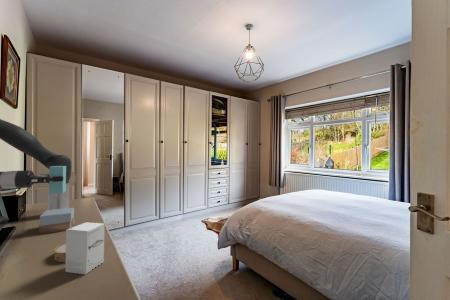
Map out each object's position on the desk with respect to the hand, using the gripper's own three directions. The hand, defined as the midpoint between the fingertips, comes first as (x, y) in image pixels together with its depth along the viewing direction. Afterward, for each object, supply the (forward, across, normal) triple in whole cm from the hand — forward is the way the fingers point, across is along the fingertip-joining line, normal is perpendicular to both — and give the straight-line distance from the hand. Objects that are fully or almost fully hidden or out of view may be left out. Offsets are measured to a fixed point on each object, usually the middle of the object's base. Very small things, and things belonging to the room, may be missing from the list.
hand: (64, 178), depth 102 cm
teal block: (-3, 0, +7) cm, 7 cm away
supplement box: (+16, -44, +23) cm, 52 cm away
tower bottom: (-2, +1, +24) cm, 24 cm away
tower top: (-2, +1, +20) cm, 20 cm away
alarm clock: (+12, -32, +24) cm, 41 cm away
